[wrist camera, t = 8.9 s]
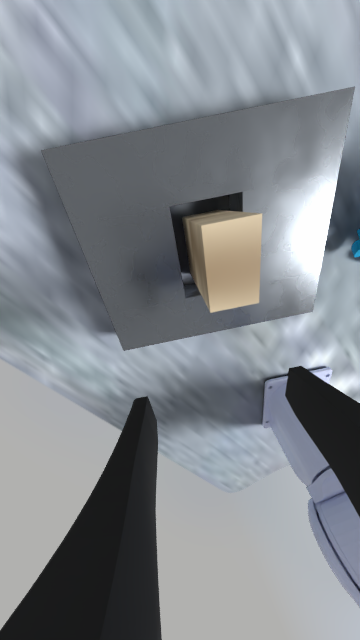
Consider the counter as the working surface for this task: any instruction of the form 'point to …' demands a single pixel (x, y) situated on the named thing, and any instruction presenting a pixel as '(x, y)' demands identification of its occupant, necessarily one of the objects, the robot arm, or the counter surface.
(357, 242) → the blue irregular piece
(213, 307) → the tan wooden beam
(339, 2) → the counter surface
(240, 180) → the gray slab with hole
